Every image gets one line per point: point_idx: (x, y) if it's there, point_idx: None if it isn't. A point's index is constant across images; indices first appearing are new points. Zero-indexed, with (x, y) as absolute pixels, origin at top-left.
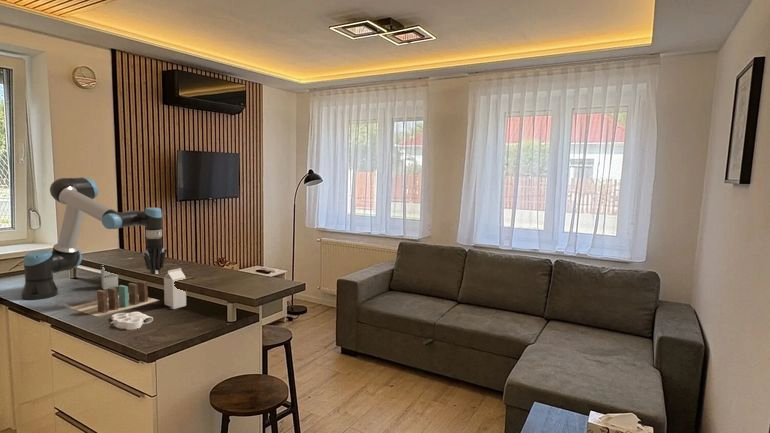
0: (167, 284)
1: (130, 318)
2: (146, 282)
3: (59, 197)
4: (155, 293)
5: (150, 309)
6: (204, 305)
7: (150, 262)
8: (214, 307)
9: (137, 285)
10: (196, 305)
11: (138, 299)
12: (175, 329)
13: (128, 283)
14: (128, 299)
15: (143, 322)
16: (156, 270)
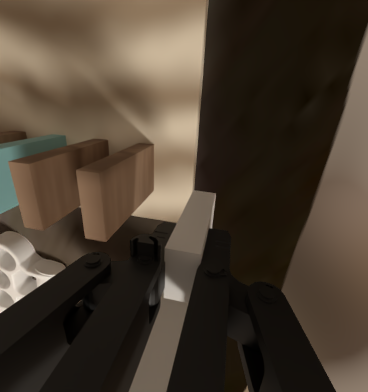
0: None
1: (13, 300)
2: (101, 239)
3: None
4: (315, 56)
5: (120, 247)
6: (238, 361)
7: (72, 354)
8: (234, 388)
9: (47, 226)
10: (227, 343)
11: (147, 126)
12: None
13: (8, 162)
14: (120, 77)
15: None
16: (176, 299)
